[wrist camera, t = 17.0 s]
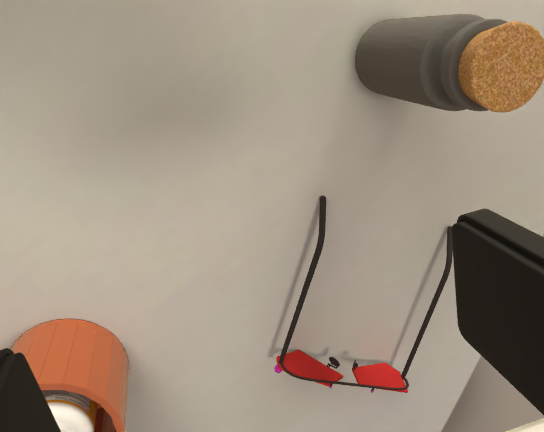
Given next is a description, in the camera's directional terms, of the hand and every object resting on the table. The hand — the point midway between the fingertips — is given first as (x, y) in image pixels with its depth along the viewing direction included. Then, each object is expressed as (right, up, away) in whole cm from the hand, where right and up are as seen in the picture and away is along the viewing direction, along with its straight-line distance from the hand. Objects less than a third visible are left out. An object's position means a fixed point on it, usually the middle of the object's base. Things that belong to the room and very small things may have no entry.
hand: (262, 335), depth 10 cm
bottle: (+10, +16, +30) cm, 35 cm away
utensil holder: (-18, -11, +33) cm, 39 cm away
